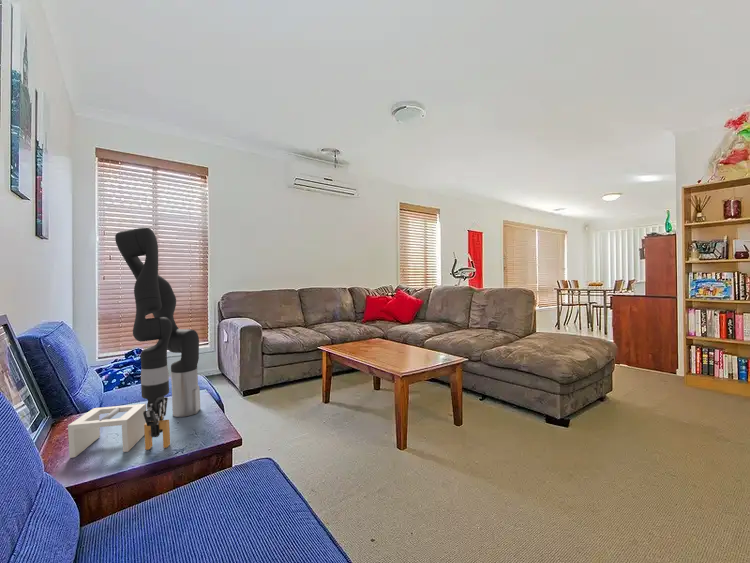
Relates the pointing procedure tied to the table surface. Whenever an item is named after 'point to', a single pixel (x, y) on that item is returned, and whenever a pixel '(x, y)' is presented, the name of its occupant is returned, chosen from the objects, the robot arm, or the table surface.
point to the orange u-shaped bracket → (166, 434)
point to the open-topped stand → (89, 426)
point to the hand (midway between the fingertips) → (157, 434)
